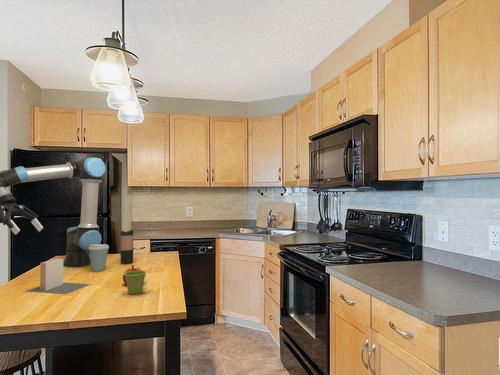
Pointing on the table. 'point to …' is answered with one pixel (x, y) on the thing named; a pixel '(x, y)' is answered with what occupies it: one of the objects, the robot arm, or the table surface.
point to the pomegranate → (129, 271)
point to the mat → (60, 288)
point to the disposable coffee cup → (98, 256)
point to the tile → (51, 274)
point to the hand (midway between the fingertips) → (29, 231)
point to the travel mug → (126, 247)
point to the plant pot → (135, 281)
